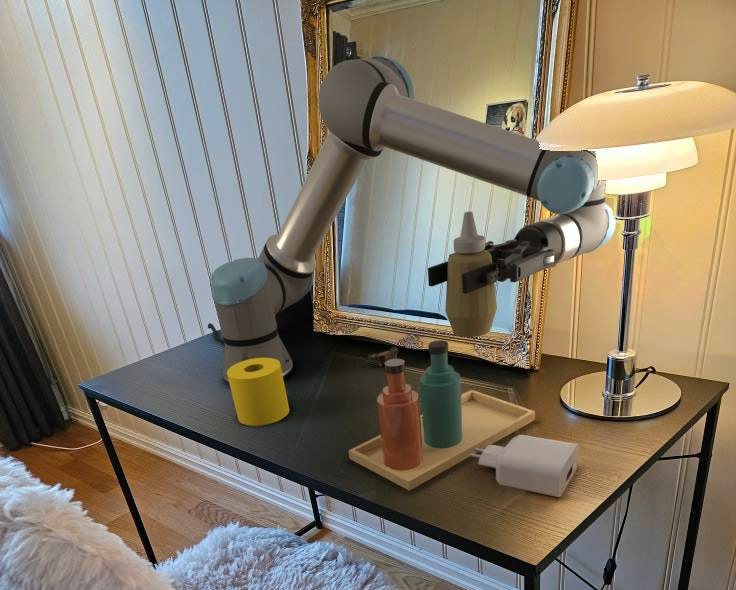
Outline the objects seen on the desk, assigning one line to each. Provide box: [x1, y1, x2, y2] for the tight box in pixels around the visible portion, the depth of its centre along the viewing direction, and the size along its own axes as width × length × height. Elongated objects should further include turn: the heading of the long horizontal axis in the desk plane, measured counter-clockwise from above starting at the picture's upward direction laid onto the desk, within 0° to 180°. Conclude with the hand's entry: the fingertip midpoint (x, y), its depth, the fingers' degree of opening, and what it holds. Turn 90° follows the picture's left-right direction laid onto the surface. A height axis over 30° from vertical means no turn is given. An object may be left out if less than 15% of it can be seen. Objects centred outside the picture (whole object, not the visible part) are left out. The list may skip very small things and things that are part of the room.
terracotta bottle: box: [376, 358, 423, 470], centre depth 100 cm, size 6×6×17 cm
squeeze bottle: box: [444, 210, 498, 338], centre depth 100 cm, size 8×8×18 cm
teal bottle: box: [419, 339, 462, 448], centre depth 104 cm, size 6×6×17 cm
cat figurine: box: [366, 346, 399, 368], centre depth 139 cm, size 3×8×4 cm, turn 60°
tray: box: [348, 389, 536, 491], centre depth 109 cm, size 15×29×2 cm, turn 129°
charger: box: [470, 434, 580, 498], centre depth 97 cm, size 5×9×15 cm
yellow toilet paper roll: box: [227, 358, 290, 427], centre depth 124 cm, size 10×10×9 cm
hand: (446, 280), depth 97 cm, fingers closed on squeeze bottle, 6 cm apart
